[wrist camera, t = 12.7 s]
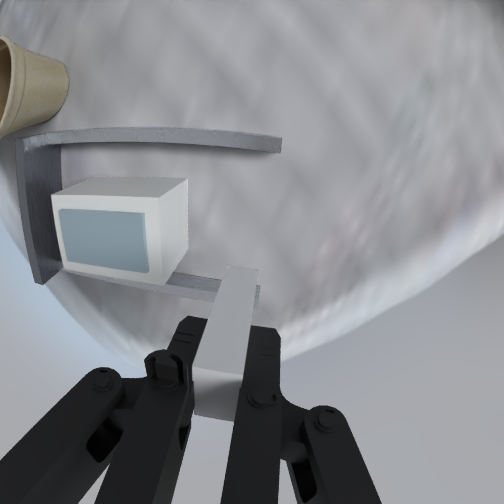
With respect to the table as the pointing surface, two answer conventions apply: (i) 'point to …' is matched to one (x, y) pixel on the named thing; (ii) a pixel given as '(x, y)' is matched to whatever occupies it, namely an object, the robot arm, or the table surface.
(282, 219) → the table surface
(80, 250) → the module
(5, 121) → the flower pot
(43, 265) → the rail
